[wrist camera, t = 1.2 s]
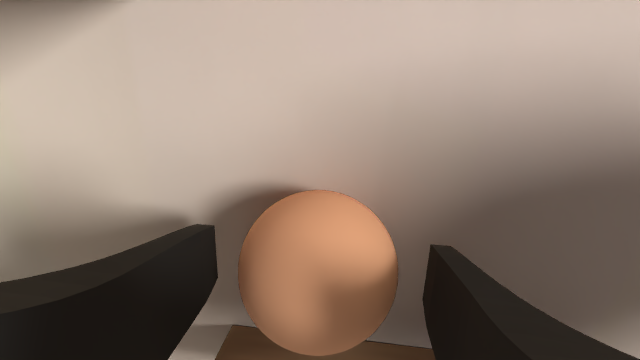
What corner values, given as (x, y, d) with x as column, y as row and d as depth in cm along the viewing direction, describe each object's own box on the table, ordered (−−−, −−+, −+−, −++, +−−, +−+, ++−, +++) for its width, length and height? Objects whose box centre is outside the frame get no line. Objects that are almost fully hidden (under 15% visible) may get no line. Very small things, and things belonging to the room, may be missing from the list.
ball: (399, 176, 12) (418, 242, 8) (386, 294, 14) (395, 410, 9) (262, 166, 13) (203, 223, 8) (265, 281, 15) (215, 384, 10)
